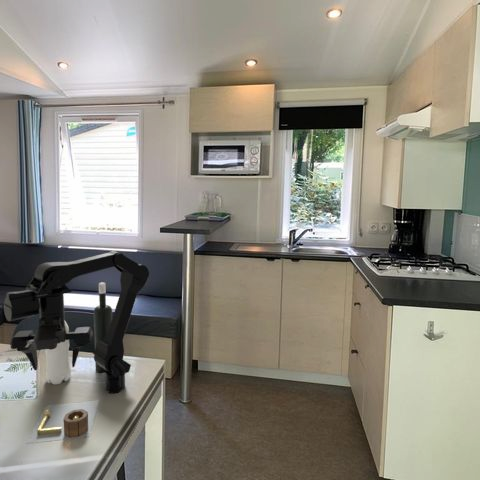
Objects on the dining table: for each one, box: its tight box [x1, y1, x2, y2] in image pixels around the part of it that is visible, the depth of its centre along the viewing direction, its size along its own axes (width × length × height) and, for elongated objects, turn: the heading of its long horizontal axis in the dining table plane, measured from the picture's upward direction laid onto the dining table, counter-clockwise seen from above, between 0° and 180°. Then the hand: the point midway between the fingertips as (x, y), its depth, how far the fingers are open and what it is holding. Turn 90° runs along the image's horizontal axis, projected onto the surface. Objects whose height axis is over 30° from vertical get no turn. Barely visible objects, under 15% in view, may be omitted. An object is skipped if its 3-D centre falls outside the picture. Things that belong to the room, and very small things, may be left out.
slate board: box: [25, 400, 100, 445], centre depth 97 cm, size 16×14×1 cm
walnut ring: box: [64, 409, 88, 438], centre depth 92 cm, size 5×5×4 cm
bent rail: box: [37, 409, 62, 436], centre depth 95 cm, size 8×6×2 cm
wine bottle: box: [93, 282, 113, 374], centre depth 124 cm, size 6×6×30 cm
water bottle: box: [43, 321, 72, 385], centre depth 116 cm, size 7×7×25 cm
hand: (54, 368), depth 99 cm, fingers open, 9 cm apart
